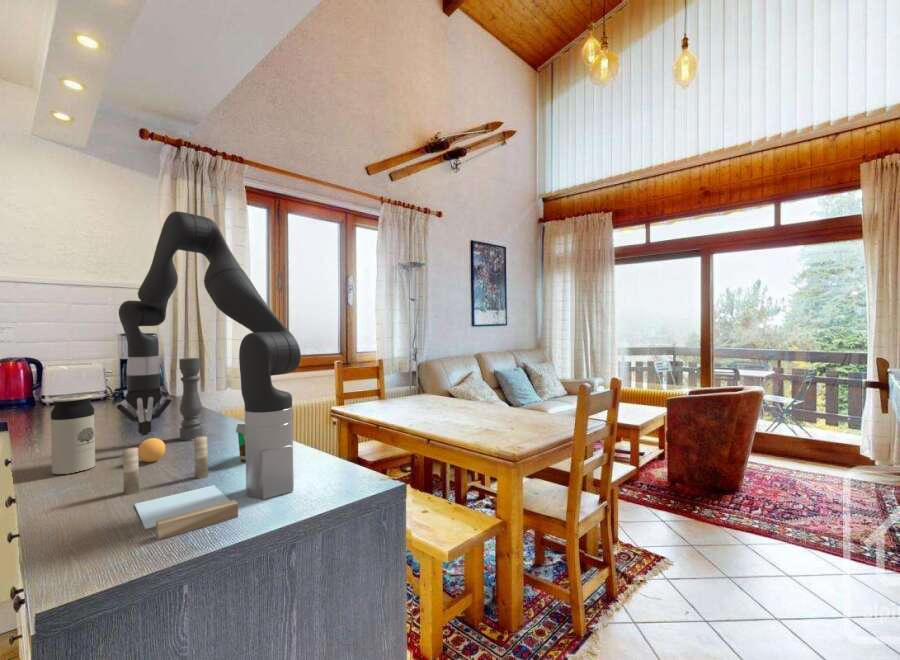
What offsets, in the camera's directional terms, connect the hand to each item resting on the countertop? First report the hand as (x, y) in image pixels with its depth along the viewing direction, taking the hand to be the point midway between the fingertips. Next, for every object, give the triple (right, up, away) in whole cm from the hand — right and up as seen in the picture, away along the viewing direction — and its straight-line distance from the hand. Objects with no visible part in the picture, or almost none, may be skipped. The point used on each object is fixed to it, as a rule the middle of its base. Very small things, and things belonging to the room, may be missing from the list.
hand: (144, 434), depth 119 cm
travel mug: (-7, -5, -14) cm, 17 cm away
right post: (+27, -5, -20) cm, 34 cm away
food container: (+35, -5, -6) cm, 36 cm away
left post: (+18, -5, -29) cm, 34 cm away
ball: (+8, -2, -8) cm, 11 cm away
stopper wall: (+42, -5, -45) cm, 61 cm away
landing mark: (+33, -5, -36) cm, 49 cm away
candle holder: (+4, -5, +15) cm, 17 cm away
